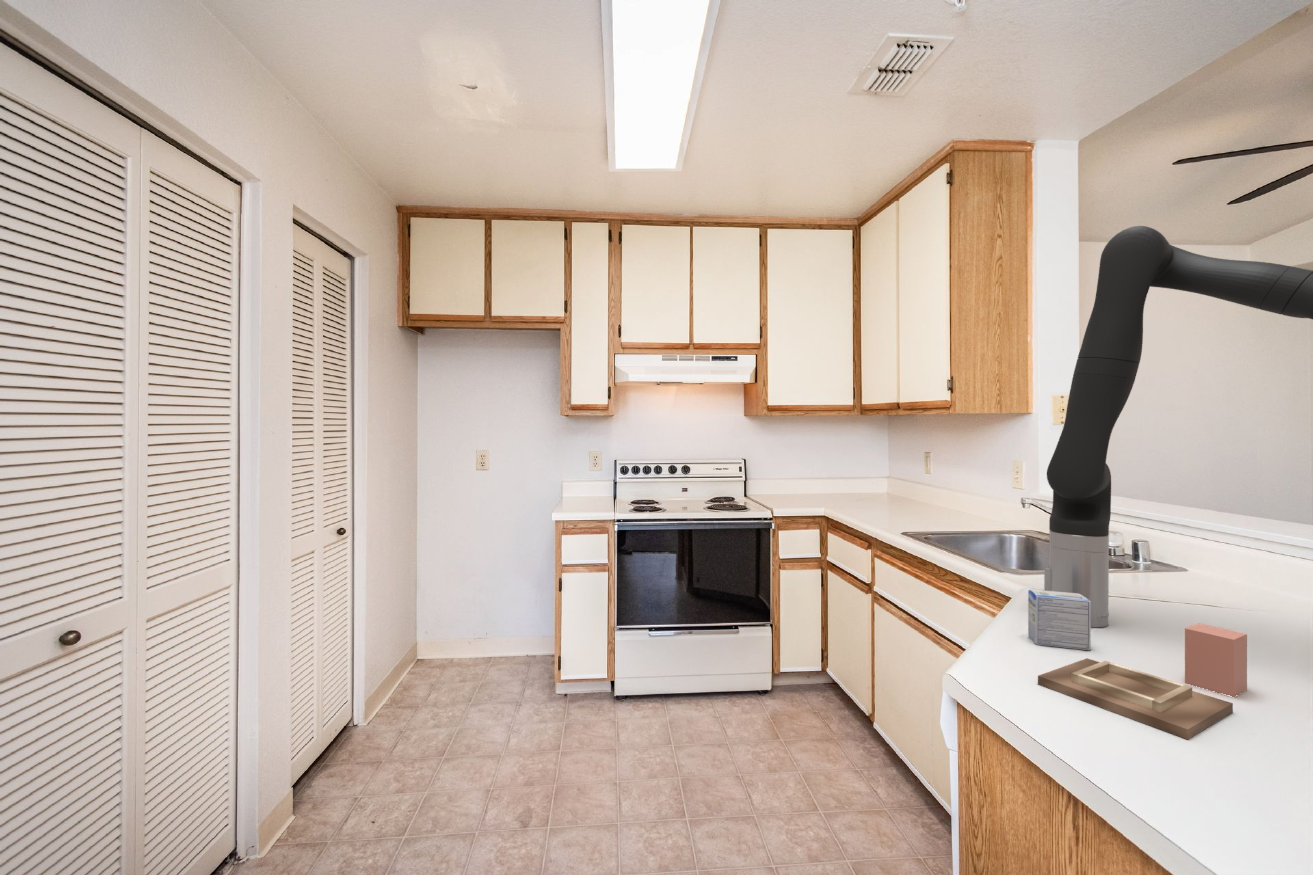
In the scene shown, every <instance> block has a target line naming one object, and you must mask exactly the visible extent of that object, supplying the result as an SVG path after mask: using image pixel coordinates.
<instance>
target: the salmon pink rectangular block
mask: <svg viewBox="0 0 1313 875" xmlns="http://www.w3.org/2000/svg"><path fill="white" fill-rule="evenodd" d="M1184 684H1185V685H1186V684H1187V685H1189V684H1190V686H1192V685H1193V687H1196V686H1197V687H1196V688H1199V687H1200V689H1202V688H1204V690H1206V689H1208V690H1207V691H1209V690H1210V692H1212V691H1215V692H1214V693H1216V692H1217V693H1216V694H1219V693H1223V694H1226V695H1230V696H1232V697H1235V696H1236V695H1238V696H1240V695H1241V694H1240V693H1242V694H1243V693H1245V692H1246V691H1247V692H1248V634H1247V633H1244V632H1240V631H1239V632H1238V631H1235V630H1230V629H1226V628H1221V627H1216V626H1213V625H1209V624H1204V623H1196V624H1193V625H1191V626H1187V627H1185V628H1184ZM1239 694H1240V695H1239ZM1232 697H1231V698H1232ZM1236 697H1237V696H1236ZM1236 697H1235V698H1236Z"/></svg>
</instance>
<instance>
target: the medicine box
mask: <svg viewBox="0 0 1313 875" xmlns="http://www.w3.org/2000/svg"><path fill="white" fill-rule="evenodd" d="M1027 594H1028V595H1027V596H1028V597H1027V598H1028V599H1027V601H1028V602H1027V603H1028V604H1027V606H1028V607H1027V608H1028V609H1027V612H1028V614H1027V616H1028V619H1027V621H1028V622H1027V625H1028V626H1027V627H1028V628H1027V632H1028V633H1027V634H1028V635H1027V636H1028V638H1030V640H1031V641H1032V642H1033V643H1034V644H1035V645H1037V646H1038V645H1039V646H1044V647H1045V646H1046V647H1052V648H1053V647H1056V648H1065V649H1072V650H1073V649H1074V650H1083V651H1091V650H1092V649H1091V637H1092V636H1091V632H1092V631H1091V628H1092V627H1091V601H1089V600H1088V599H1087V598H1086V597H1084V596H1082V595H1081V594H1078V593H1067V592H1056V591H1044V590H1040V589H1028V592H1027Z"/></svg>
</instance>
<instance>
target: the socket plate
mask: <svg viewBox="0 0 1313 875" xmlns="http://www.w3.org/2000/svg"><path fill="white" fill-rule="evenodd" d="M1037 685H1039V686H1042V687H1045V688H1048V689H1050V690H1053V691H1055V692H1058V693H1060V694H1063V695H1065V696H1068V697H1072V698H1074V699H1077V700H1080V701H1082V702H1085V703H1088V704H1090V705H1093V706H1096V707H1099V708H1101V709H1104V710H1106V711H1110V712H1112V713H1115V714H1117V715H1119V716H1123V717H1124V718H1128V719H1131V720H1133V721H1137V722H1139V723H1142V724H1144V725H1147V726H1150V727H1152V728H1156V729H1157V730H1160V731H1164V732H1166V733H1168V734H1170V735H1174V736H1177V737H1180V738H1182V739H1185V740H1187V741H1188V740H1189V739H1192V738H1193V737H1195V736H1197V735H1198V734H1200V733H1201V732H1203V731H1205V730H1206V729H1208V728H1210V727H1211V726H1213V725H1214V724H1216V723H1218V722H1219V721H1221V720H1223V719H1225V718H1226V717H1228V716H1229V715H1232V714H1233V713H1234V708H1233V707H1234V704H1233V702H1230V701H1226V700H1224V699H1221V698H1217V697H1214V696H1210V695H1208V694H1204V693H1200V692H1198V691H1194V690H1193V687H1192V686H1191V685H1190V686H1189V685H1186V684H1182V683H1179V682H1177V681H1173V680H1171V679H1167V678H1163V677H1160V676H1156V675H1153V674H1150V673H1146V672H1144V671H1140V670H1137V669H1134V668H1130V667H1127V666H1123V665H1120V664H1117V663H1114V662H1110V661H1107V660H1103V661H1097V660H1094V659H1092V658H1091V659H1090V658H1084V659H1082V660H1078V661H1075V662H1073V663H1069V664H1067V665H1064V666H1061V667H1059V668H1056V669H1053V670H1050V671H1047V672H1045V673H1042V674H1039V675H1037Z"/></svg>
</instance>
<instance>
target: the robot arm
mask: <svg viewBox="0 0 1313 875" xmlns="http://www.w3.org/2000/svg"><path fill="white" fill-rule="evenodd" d="M1097 276H1098V278H1097V283H1096V284H1097V285H1096V292H1095V296H1094V298H1095V299H1094V303H1093V308H1092V311H1091V314H1090V316H1089V319H1088V322H1087V326H1086V329H1085V331H1084V334H1083V339H1082V342H1081V345H1080V346H1081V347H1080V349H1079V352H1078V355H1077V359H1076V363H1075V367H1074V370H1073V373H1072V374H1073V376H1072V378H1071V383H1070V384H1071V385H1070V390H1069V394H1068V399H1067V406H1066V412H1065V420H1064V423H1063V427H1062V431H1061V433H1060V435H1059V438H1058V442H1057V444H1056V447H1055V449H1054V452H1053V454H1052V457H1051V459H1050V462H1049V464H1048V466H1047V469H1046V480H1047V484H1048V485H1049V487H1050V488H1051V490H1052V507H1051V514H1050V516H1049V523H1048V524H1049V527H1048V528H1049V544H1048V545H1049V554H1048V555H1049V559H1048V560H1049V563H1048V564H1049V566H1047V567H1045V568H1044V570H1043V572H1044V573H1043V574H1044V576H1043V577H1044V580H1043V581H1044V584H1043V585H1044V586H1043V587H1044V588H1043V589H1044V590H1043V591H1056V592H1067V593H1078V594H1081V595H1082V596H1084V597H1086V598H1087V599H1088V600H1089V601H1091V628H1102V627H1103V628H1104V627H1107V626H1109V617H1110V616H1109V615H1110V612H1109V605H1110V604H1109V598H1110V596H1109V593H1110V592H1109V589H1110V588H1109V583H1110V582H1109V578H1110V577H1109V574H1110V573H1109V570H1110V569H1109V562H1110V561H1109V559H1110V558H1109V555H1110V554H1109V544H1110V543H1109V539H1110V538H1109V534H1110V531H1109V530H1110V521H1111V511H1112V508H1111V507H1112V474H1111V470H1110V467H1109V465H1108V464H1107V457H1108V456H1107V455H1108V450H1109V445H1110V439H1111V435H1112V433H1113V429H1114V428H1115V425H1116V423H1117V421H1118V419H1119V417H1120V415H1121V413H1122V411H1123V410H1124V408H1125V405H1126V403H1127V401H1128V399H1129V397H1130V395H1131V392H1132V389H1133V388H1134V384H1135V382H1136V377H1137V374H1138V371H1139V370H1138V369H1139V367H1140V363H1141V358H1142V354H1143V353H1142V352H1143V341H1144V339H1143V338H1144V311H1145V310H1144V309H1145V304H1146V300H1147V296H1148V294H1149V290H1150V287H1151V288H1161V289H1168V290H1170V289H1171V290H1176V291H1182V292H1189V293H1195V294H1198V295H1204V296H1208V297H1212V298H1216V299H1219V300H1223V301H1227V302H1231V303H1234V304H1237V305H1241V306H1245V307H1249V308H1253V309H1257V310H1261V311H1265V312H1270V313H1272V314H1273V313H1274V314H1277V315H1282V316H1285V317H1291V318H1297V319H1310V320H1313V270H1311V269H1308V268H1301V267H1298V266H1297V267H1296V266H1292V265H1286V264H1281V263H1279V264H1278V263H1273V262H1265V261H1256V260H1255V261H1254V260H1239V259H1238V260H1237V259H1229V258H1228V259H1227V258H1218V257H1212V256H1211V257H1210V256H1207V255H1203V254H1199V253H1194V252H1191V251H1189V250H1186V249H1183V248H1179V247H1177V246H1174V245H1171V244H1170V243H1169V241H1168V240H1167V238H1166V237H1165V236H1164V235H1163V234H1162V233H1161V232H1160V231H1159V230H1157V229H1155V228H1152V227H1150V226H1147V225H1145V226H1144V225H1136V226H1130V227H1128V228H1125V229H1123V230H1121V231H1120V232H1118V233H1116V234H1115V235H1114V236H1112V238H1110V240H1109V241H1107V243H1106V245H1105V246H1104V248H1103V250H1102V252H1101V255H1100V260H1099V268H1098V275H1097Z"/></svg>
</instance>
